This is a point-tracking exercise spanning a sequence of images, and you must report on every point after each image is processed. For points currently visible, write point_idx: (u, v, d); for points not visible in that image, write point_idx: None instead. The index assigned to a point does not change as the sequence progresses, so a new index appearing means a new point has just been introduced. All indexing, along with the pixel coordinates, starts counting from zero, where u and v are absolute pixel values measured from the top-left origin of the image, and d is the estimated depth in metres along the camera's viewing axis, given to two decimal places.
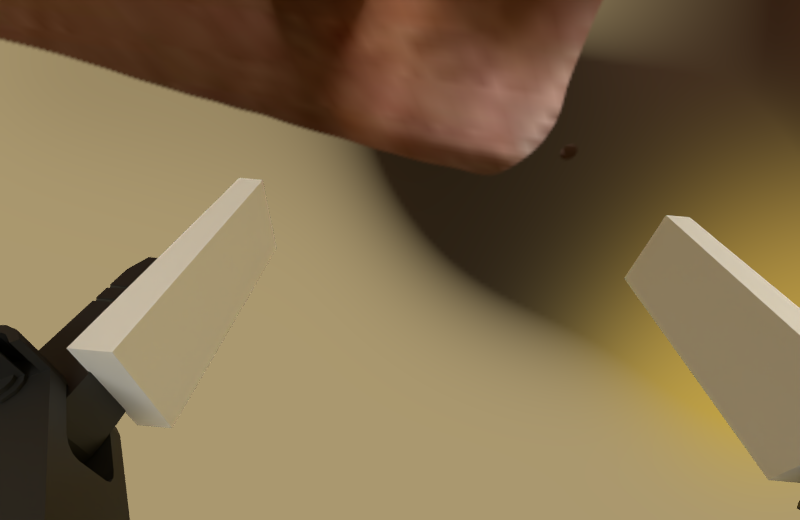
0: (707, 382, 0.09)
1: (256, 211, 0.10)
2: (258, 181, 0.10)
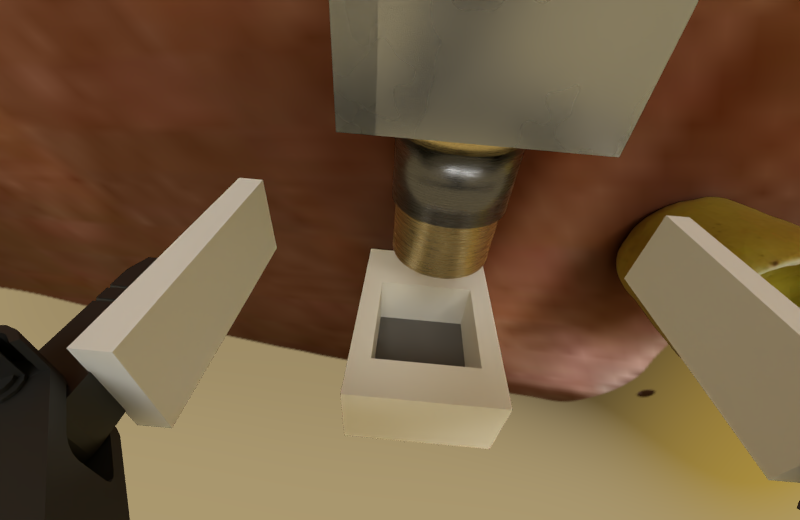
0: (707, 382, 0.09)
1: (256, 211, 0.10)
2: (258, 182, 0.10)
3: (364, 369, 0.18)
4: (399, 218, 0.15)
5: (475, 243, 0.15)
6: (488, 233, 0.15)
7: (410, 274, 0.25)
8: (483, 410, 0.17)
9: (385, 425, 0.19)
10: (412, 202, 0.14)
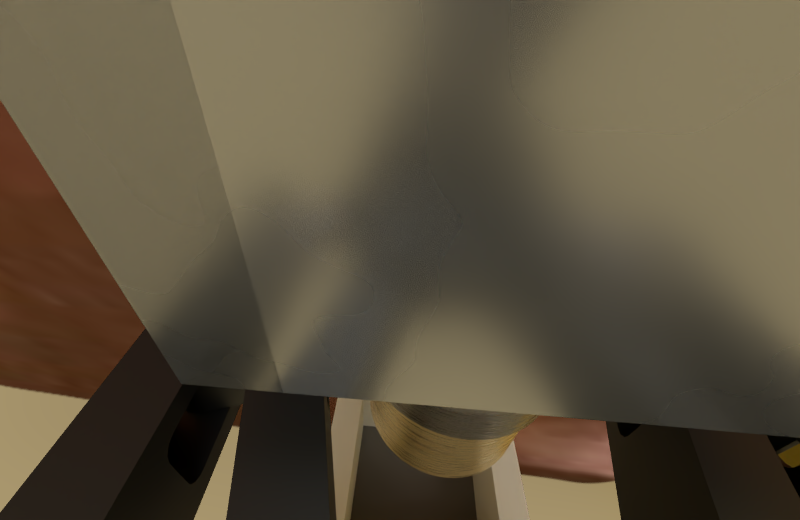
0: None
1: None
2: None
3: None
4: None
5: (505, 439, 0.09)
6: None
7: None
8: None
9: None
10: None
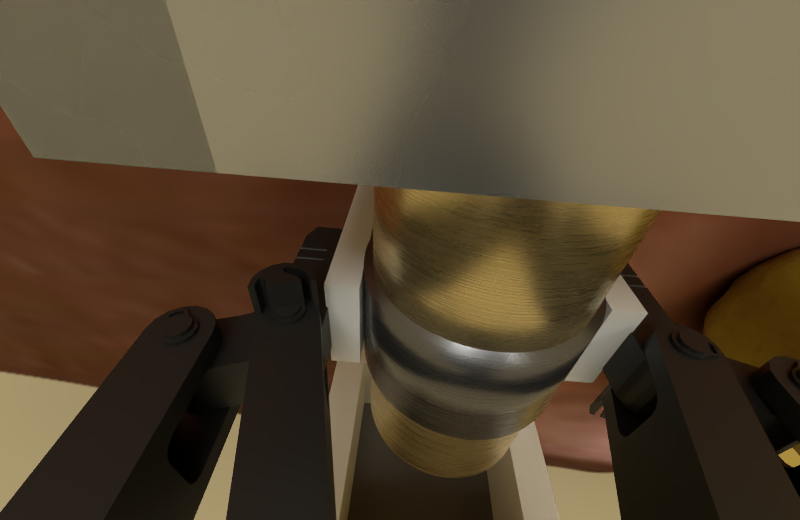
0: None
1: None
2: None
3: None
4: (376, 384, 0.09)
5: (506, 439, 0.09)
6: None
7: None
8: None
9: None
10: (395, 391, 0.08)
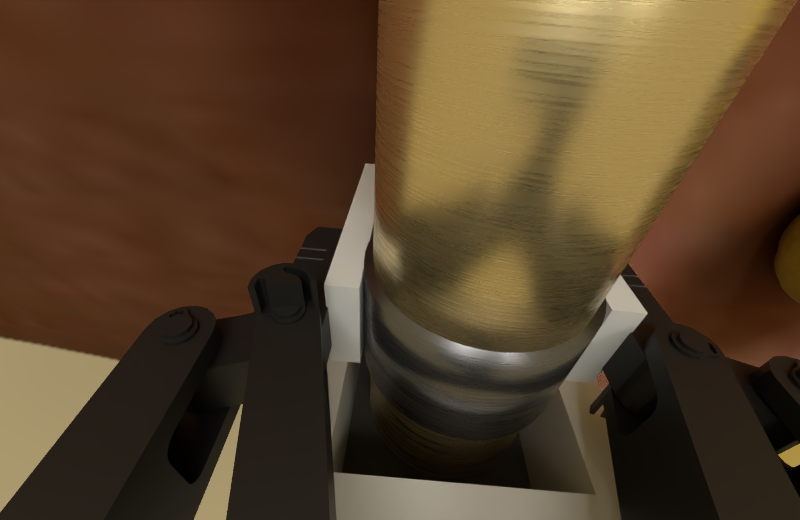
0: None
1: None
2: None
3: None
4: (375, 384, 0.09)
5: (505, 439, 0.09)
6: None
7: None
8: None
9: None
10: (394, 391, 0.08)
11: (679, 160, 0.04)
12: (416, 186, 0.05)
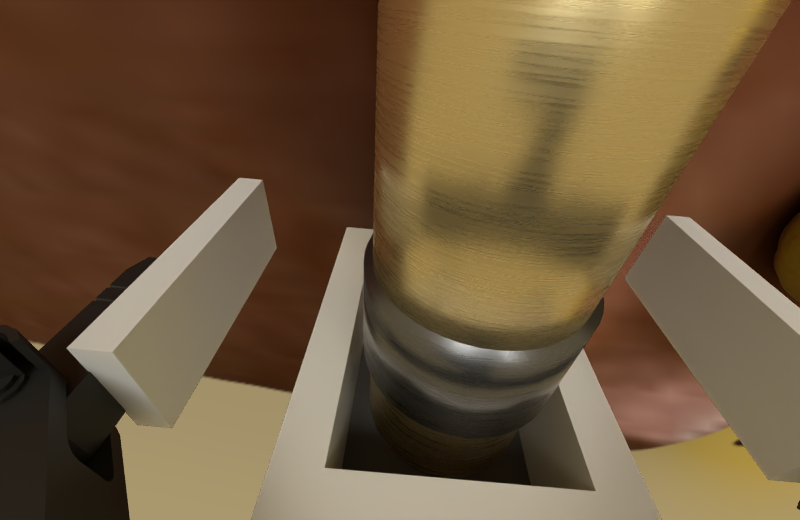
0: (707, 382, 0.09)
1: (256, 211, 0.10)
2: (258, 182, 0.10)
3: (304, 505, 0.07)
4: (375, 383, 0.09)
5: (504, 438, 0.09)
6: None
7: None
8: None
9: None
10: (394, 389, 0.08)
11: (674, 160, 0.04)
12: (415, 186, 0.05)
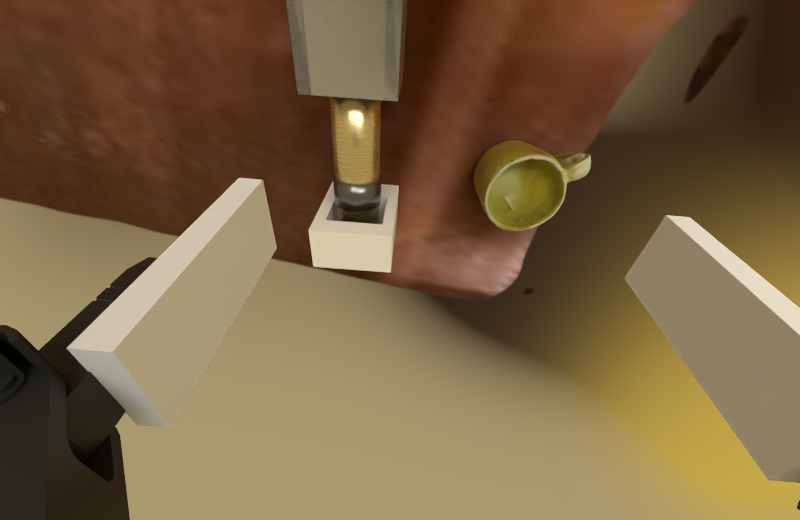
0: (707, 382, 0.09)
1: (256, 211, 0.10)
2: (258, 181, 0.10)
3: (321, 223, 0.36)
4: (337, 209, 0.38)
5: (366, 218, 0.38)
6: (371, 214, 0.38)
7: None
8: (379, 238, 0.35)
9: (333, 255, 0.37)
10: (339, 202, 0.37)
11: (366, 154, 0.33)
12: (337, 158, 0.34)
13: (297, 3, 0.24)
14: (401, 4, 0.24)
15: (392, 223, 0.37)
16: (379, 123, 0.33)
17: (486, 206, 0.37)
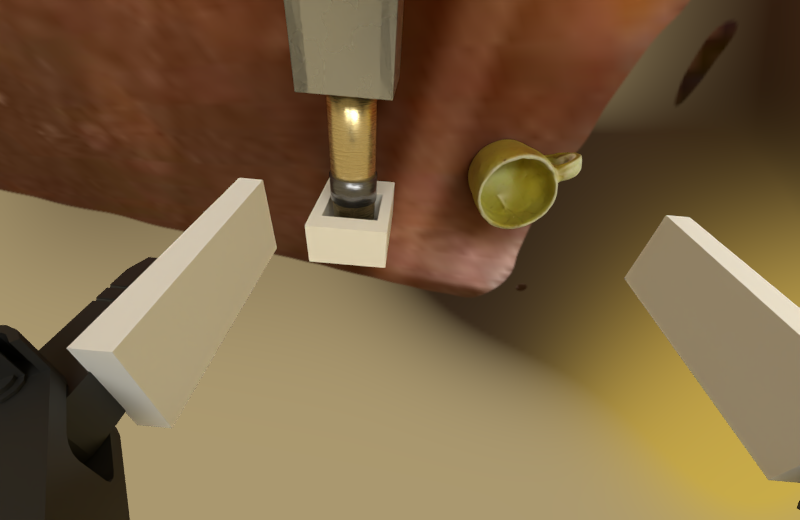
0: (707, 382, 0.09)
1: (256, 211, 0.10)
2: (257, 182, 0.10)
3: (317, 218, 0.37)
4: (333, 205, 0.39)
5: (361, 214, 0.38)
6: (366, 210, 0.39)
7: None
8: (373, 234, 0.36)
9: (329, 250, 0.38)
10: (335, 198, 0.37)
11: (362, 151, 0.34)
12: (333, 155, 0.35)
13: (294, 3, 0.25)
14: (396, 5, 0.25)
15: (387, 219, 0.38)
16: (375, 121, 0.33)
17: (479, 204, 0.38)
